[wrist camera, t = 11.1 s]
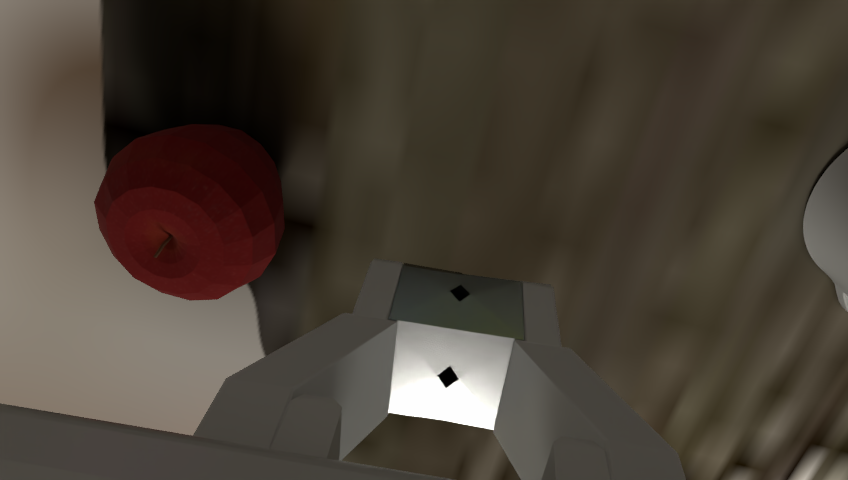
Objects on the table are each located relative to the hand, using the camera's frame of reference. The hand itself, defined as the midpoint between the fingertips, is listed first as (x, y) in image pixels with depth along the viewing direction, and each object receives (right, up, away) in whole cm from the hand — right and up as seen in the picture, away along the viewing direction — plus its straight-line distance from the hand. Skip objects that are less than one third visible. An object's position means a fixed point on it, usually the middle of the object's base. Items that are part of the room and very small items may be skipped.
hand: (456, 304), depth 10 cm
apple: (-15, +7, +38) cm, 42 cm away
